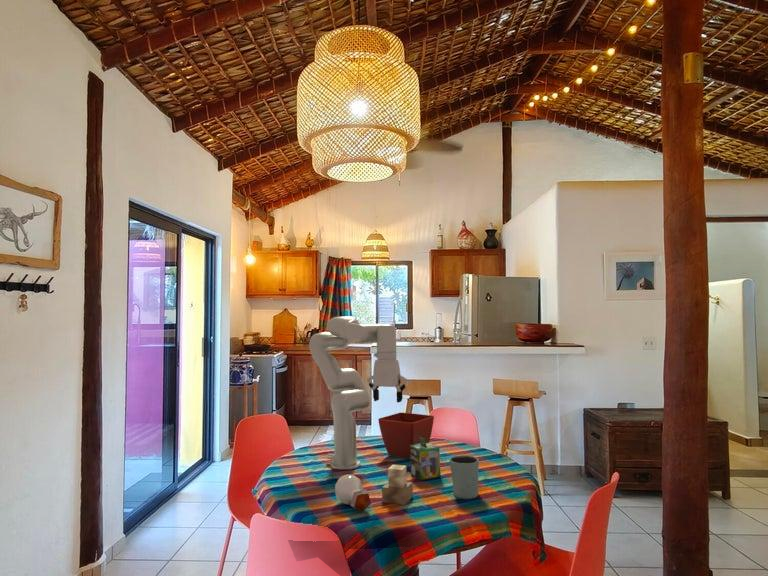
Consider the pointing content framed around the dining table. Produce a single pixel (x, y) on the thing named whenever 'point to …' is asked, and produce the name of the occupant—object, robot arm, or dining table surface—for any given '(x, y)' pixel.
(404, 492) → the tan square block
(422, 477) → the chalk box
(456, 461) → the grey embossed cup
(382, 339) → the robot arm
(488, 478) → the dining table surface
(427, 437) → the plant pot
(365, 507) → the potion bottle
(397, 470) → the beech block
